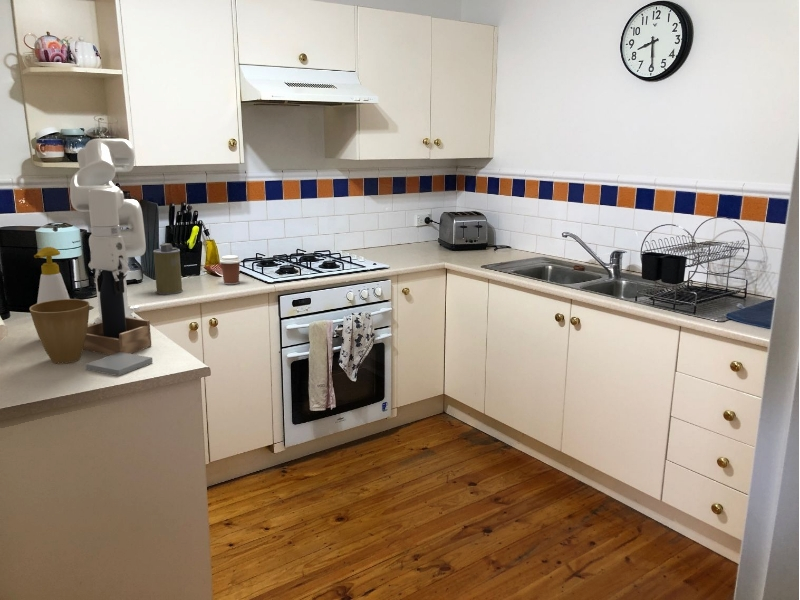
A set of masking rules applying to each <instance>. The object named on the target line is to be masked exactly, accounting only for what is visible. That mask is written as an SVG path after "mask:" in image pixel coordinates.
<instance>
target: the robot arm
mask: <svg viewBox="0 0 800 600" xmlns="http://www.w3.org/2000/svg"><path fill="white" fill-rule="evenodd" d="M135 157H136V156H135V150H134V147H133V145H132V143H131V142H130V141H129V140H127V139H125V138H93V139H90V140H89V141H88V142H86V143H85V145H84V147H82V148H80V149H79V150H78V151H77V163H78V164H77V165H78V167H79V169H78V171H76V172H75V173H74V174H73V175H72V177H71V180H70V184H69V186H70V187H69V190H70V193H69V194H70V195H69V196H70V202H71V206H72V208H73V209H74V210H76V211H77V212H81V213H82V212H83V213H85V212H89V219H90V230H91V234H90V235H89V238H88V246H89V249H90V261H89V263H88V268H89V269H90V270H91V271H92V273H93V275H94V278H95V288H96V298H97V309H98V317H95V318H94V324H96V323H99V322H102V314H101V304H100V290H101V285H102V281H103V273H102V270H106V271H112V273H113V276H114V279H115V281H114V293H115V294H121V293H123V296H124V308H125V317H130V318H135V315H133V312H138V311H139V310H140V306H139V305H133V306H131V305H129V298H128V297H129V296H128V287H127V286H128V285H127V276H128V274H129V272H130V271H131V268H130V266H129V265H128V263H129V262H128V258H136V257H137V258H139V257H142V256H143V255H145V253H146V249H147V246H146V244H147V243H146V234H145V224H144V216H143V210H142V207H141V204H140V202H138V200H136V199H131V198H130V199H129V198H128V199H126V198H125V194H124V192H123V190H121V188H120V187H118V186H116V185H115V184H114V183H113V179H115V177H116V173H128V172H132V170H133V169H134V167H135ZM121 228H124V229H121Z"/></svg>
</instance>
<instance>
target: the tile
mask: <svg viewBox="0 0 800 600" xmlns="http://www.w3.org/2000/svg"><path fill="white" fill-rule="evenodd" d="M152 362H153V357H150V356H145V355H139V354H134V353H130V354H129V353H123V352H119V353H116V354H113V355H107V356H105V357H103V358H99V359H97V360H93V361H91V362H87V363H85V370H88V371H93V372H98V373H102V372H103V373H104V374H107V373H108V375H112V374H113V375H114V376H123V375H125V374H127V372H128V373H130V372H133V371H134V370H135V371H136V370H137V368H138V369H140V368H142V366H143V367H146V366H148V365H151V364H153V363H154V362H153V363H152ZM150 363H151V364H150ZM147 364H148V365H147ZM103 373H102V374H103Z"/></svg>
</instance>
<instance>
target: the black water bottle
mask: <svg viewBox="0 0 800 600" xmlns="http://www.w3.org/2000/svg"><path fill="white" fill-rule="evenodd" d="M102 273H103V281H102V285H101V290H100V304H101V314H102V325H103V335H104V336H105V337H111V338H117V339H119V334H120V333H123V332H126V319H125V308H124V296H123V293H121V294H115V293H114V281H115V279H114V276H113V273H112V271H106V270H102Z"/></svg>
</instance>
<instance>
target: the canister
mask: <svg viewBox="0 0 800 600" xmlns="http://www.w3.org/2000/svg"><path fill="white" fill-rule="evenodd" d="M159 246H160V248H158V249H154V250H153V251H152V252H153V258H154V259H153V261H154V273H155V286H156V292H155V293H157V294H159V295H176V294H180V293H182V292H184V291H183V284H182V283H183V282H182V271H181V270H182V269H181V268H182V267H181V254H180V253H181V252H180V251H181V250H180V248H178V247H174V246H173V244H172V243H167V242H165V243H162V244H161V243H160V244H159Z"/></svg>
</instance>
